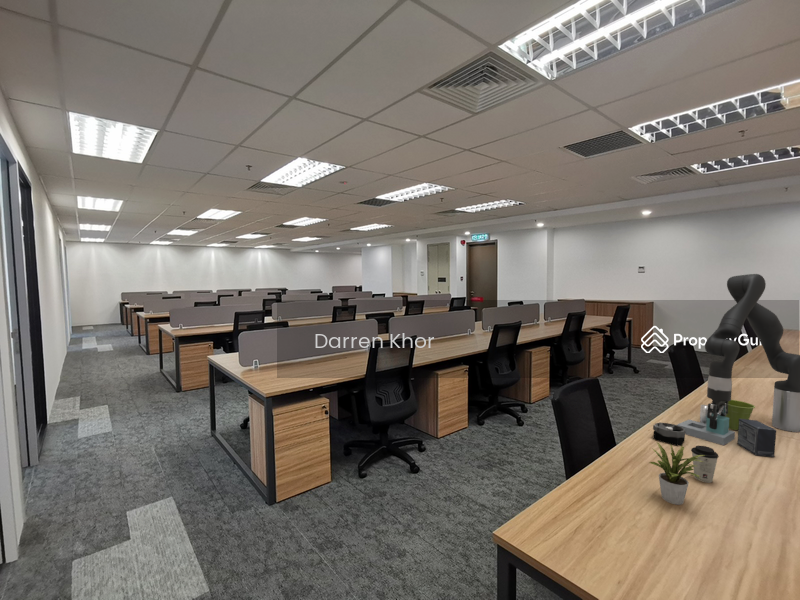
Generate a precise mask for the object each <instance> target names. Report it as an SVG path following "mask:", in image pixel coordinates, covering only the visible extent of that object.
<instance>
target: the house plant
mask: <svg viewBox="0 0 800 600" xmlns="http://www.w3.org/2000/svg"><path fill="white" fill-rule="evenodd" d="M656 444H657V445H658V448H659V450H660V453H661V454H660V453H659V452H658V451H657V450H655V449H654V448H652V450H653V451H654V452H655V454H657V455H656V456H658V457H659V459H658V460H657V461H649V462H648V464H651V465H655V466H656V467H659V468H661V469H662V470H663V471H664V472H660V473H659V474H658V479H659V486H660V487H659V488H660V494H661V498H662V499H663V500H664V501H665V502H667V503H670V504H673V505H679V506H681V505H683V504H684V502H685V498H686V496H687V495H686V494H687V492H688V487H689V481H688V480H687V478H689V477H690V476H694V475H695V476H697V477H698V478H699V475H696V474H695V473H694V472H691V471H694V468H693V467H694V466H695V465H693V461H700V460H695V459H701V458H697V457H699V456H705V455H697V456H693V457H692V456H691V457H689V458H683V457H684V450H685V446H683V445H681V446H680V448H679V450H678V451H677V452H676V454H675V451H674V448H673V445H672V444H669V445H670V451H671V452H669V454H670V455H671V464H670V460H669V457H668V454H667V452H666V449H665V448H664V447H663V446H662V445H661V444H660V443H659V441H656ZM682 461H683V462H682ZM681 462H682V463H681ZM700 462H703V461H700ZM690 463H692V464H690ZM687 474H689V475H690V476H689V475H688V476H687V478H686V477H685V478H684V477H683V475H687ZM700 477H701V476H700Z"/></svg>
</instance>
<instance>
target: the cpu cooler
mask: <svg viewBox="0 0 800 600" xmlns="http://www.w3.org/2000/svg"><path fill="white" fill-rule="evenodd" d="M652 430H653V434H652V435H653V437H652V438H653V439H652V440H655V441H656V442H661V443H664V442H665V443H664V444H669V445H670V444H671V445H672V446H677V447H678V446H679V447H681V446H683V444H684V442H685V439H686V438H685V436H686V434H685V431H686V430H685V429H684V428H682V427H680V426H678V425H677V424H673V423H668V422H655V423H654V424H653V425H652Z"/></svg>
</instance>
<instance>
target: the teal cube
mask: <svg viewBox="0 0 800 600" xmlns="http://www.w3.org/2000/svg"><path fill="white" fill-rule="evenodd" d="M713 415H714V414H713ZM713 415H712V416H713ZM709 424H710V419H709V418H707V424H706V431H710V432H713V433H717V434H721V435H725V434H726V433H728V432H729V430H730V429H729V418H728V417H724V416H718V420H717V429H711V428H710V427H709Z"/></svg>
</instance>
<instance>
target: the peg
mask: <svg viewBox="0 0 800 600" xmlns="http://www.w3.org/2000/svg"><path fill="white" fill-rule="evenodd" d="M707 413H708V404H700V413H699V422H700V423H704V424H707Z"/></svg>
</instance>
